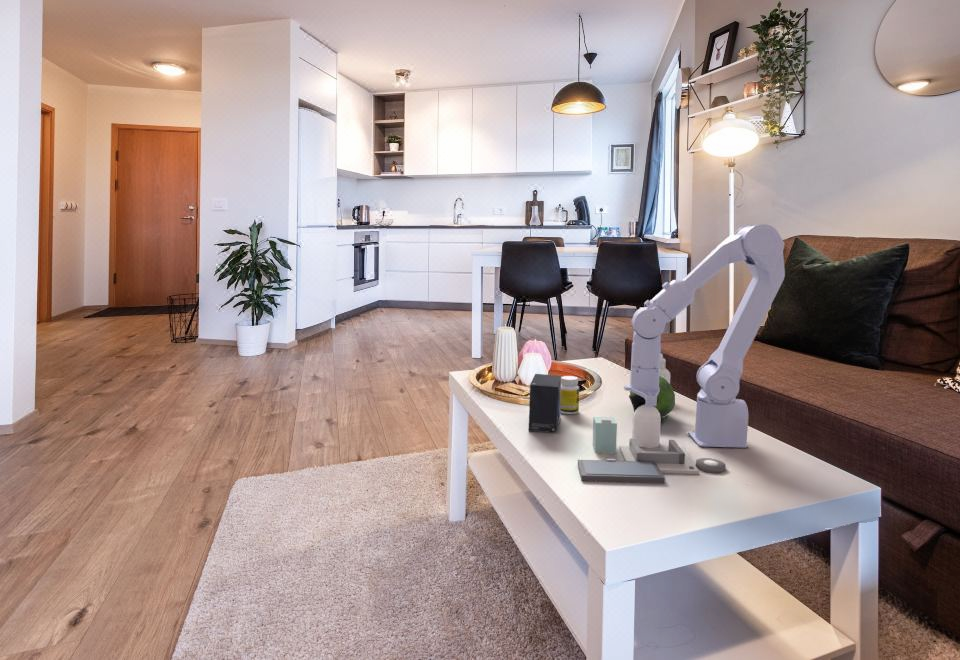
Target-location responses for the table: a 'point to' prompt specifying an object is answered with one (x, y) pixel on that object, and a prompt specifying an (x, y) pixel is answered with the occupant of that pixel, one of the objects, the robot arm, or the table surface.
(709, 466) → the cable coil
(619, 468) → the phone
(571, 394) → the supplement bottle
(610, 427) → the plug block
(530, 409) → the small box
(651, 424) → the capsule
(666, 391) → the fruit
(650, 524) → the table surface
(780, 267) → the robot arm
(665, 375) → the eye dropper bottle
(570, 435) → the table surface
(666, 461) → the grey piece
